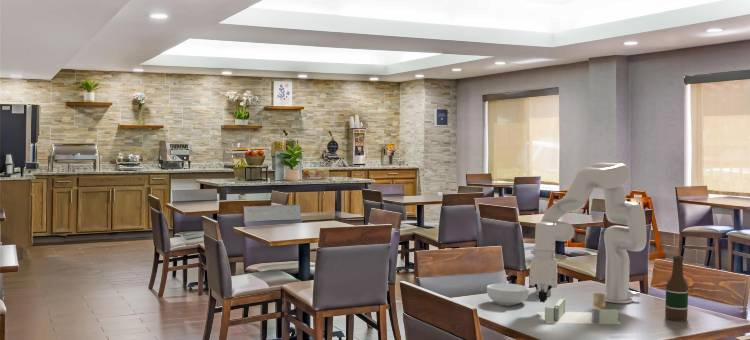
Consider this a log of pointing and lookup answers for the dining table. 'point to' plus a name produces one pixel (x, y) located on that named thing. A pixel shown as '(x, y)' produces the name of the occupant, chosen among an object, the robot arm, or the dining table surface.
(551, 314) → the gate frame
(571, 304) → the dining table surface
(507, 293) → the cereal bowl
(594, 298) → the roller
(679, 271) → the beer bottle
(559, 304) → the gate
